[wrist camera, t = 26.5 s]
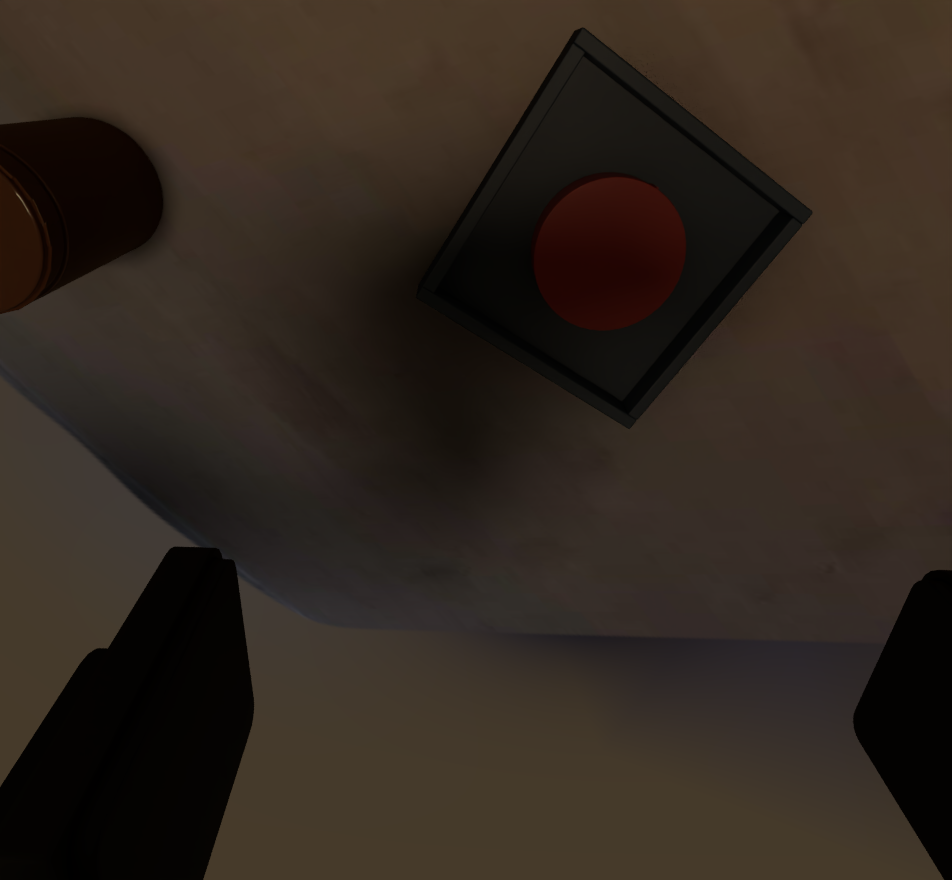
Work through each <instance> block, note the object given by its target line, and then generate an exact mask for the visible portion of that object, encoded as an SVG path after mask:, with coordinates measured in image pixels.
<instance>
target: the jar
mask: <svg viewBox="0 0 952 880" xmlns="http://www.w3.org/2000/svg"><path fill="white" fill-rule="evenodd" d="M162 206H163V199H162V190H161V186H160V182H159V179H158V176H157V174H156V171H155V169H154V167H153V165H152V164H151V162H150V160H149V159H148V157H147V156H146V154H145V153H144V152H143V150H142V149H141V148H140V147H139V146H138V145H137V144H136V143H135V142H134V141H133V140H132V139H131V138H130V137H128V136H127V135H126V134H125V133H123V132H122V131H120V130H119V129H117V128H115V127H113V126H112V125H110V124H107V123H105V122H102V121H100V120H96V119H92V118H85V117H71V118H61V119H50V120H40V121H30V122H20V123H10V124H0V314H2V313H6V312H10V311H15V310H19V309H21V308H23V307H24V306H26V305H28V304H29V303H31V302H33V301H35V300H37V299H39V298H41V297H43V296H45V295H47V294H49V293H51V292H53V291H55V290H57V289H59V288H61V287H62V286H64V285H66V284H68V283H70V282H72V281H74V280H76V279H78V278H80V277H82V276H84V275H86V274H88V273H90V272H92V271H93V270H95V269H97V268H99V267H101V266H103V265H105V264H107V263H109V262H111V261H113V260H115V259H117V258H119V257H121V256H123V255H124V254H126V253H128V252H130V251H132V250H134V249H136V248H138V247H140V246H141V245H143V244H144V243H145V242H147V241H148V240H149V239H150V238H151V236H152V235H153V234H154V232H155V231H156V229H157V227H158V225H159V222H160V219H161V214H162Z"/></svg>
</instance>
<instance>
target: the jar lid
mask: <svg viewBox="0 0 952 880" xmlns="http://www.w3.org/2000/svg"><path fill="white" fill-rule="evenodd" d="M658 189H659V187H657V186H655V185H654V184H652V183H650V184H648V183H647V182H645V181H643V180H641V179H639V178H637V177H634V176H631V175H628V174H624V173H617V172H603V173H597V174H592V175H589V176H585V177H583V178H581V179H578V180H576V181H574V182H572V183H571V184H569V185H568V186H566V187H565V188H563V189H562V190H561V191H560V192H558V193H557V194H556V195H555V196H554V197H553V198H552V199H551V200H550V202H549V203H548V204H547V206H546V207H545V208H544V210H543V212H542V213H541V215H540V217H539V219H538V221H537V224H536V226H535V229H534V233H533V236H532V242H531V264H532V269H533V273H534V276H535V279H536V282H537V285H538V287H539V290H540V292H541V294H542V296H543V298H544V299H545V301H546V302H547V304H548V305H549V306H550V308H551V309H552V310H553V311H554V312H555V313H556V314H558V315H559V316H560V317H562V318H563V319H564V320H566V321H568V322H570V323H571V324H574V325H576V326H579V327H582V328H586V329H590V330H614V329H620V328H624V327H627V326H630V325H632V324H635V323H637V322H639V321H641V320H643V319H644V318H646V317H647V316H649V315H650V314H652V313H653V312H654V311H655V310H657V309H658V308H659V307H660V306H661V305H662V304H663V303H664V302H665V300H666V299H667V298H668V297H669V295H670V294H671V293H672V291H673V290H674V288H675V286H676V284H677V282H678V280H679V278H680V275H681V273H682V270H683V266H684V262H685V255H686V237H685V230H684V227H683V223H682V220H681V218H680V216H679V213H678V212H677V210H676V208H675V207H674V205H673V204H672V203H671V201H670V200H669V199H668V198H667V197H666V196H665V195H664V194H663V193H662V192H661V191H659V190H658Z"/></svg>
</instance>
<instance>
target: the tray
mask: <svg viewBox="0 0 952 880" xmlns="http://www.w3.org/2000/svg"><path fill="white" fill-rule="evenodd" d="M603 172H617V173H624V174H628V175H631V176H634V177H637V178H639V179H641V180H643V181H645V182H647V183H648V184H650V183H652V184H654V185H655V186H657V187H659V189H658V190H659V191H661V192H662V193H663V194H664V195H665V196H666V197H667V198H668V199H669V200H670V201H671V203H672V204H673V205H674V207H675V208H676V210H677V212H678V213H679V216H680V218H681V220H682V223H683V227H684V230H685V237H686V255H685V262H684V266H683V270H682V273H681V275H680V278H679V280H678V282H677V284H676V286H675V288H674V290H673V291H672V293H671V294H670V295H669V297H668V298H667V299H666V300H665V302H664V303H663V304H662V305H661V306H660V307H659V308H658V309H657V310H655V311H654V312H653V313H652V314H650V315H649V316H647V317H646V318H644V319H643V320H641V321H639V322H637V323H635V324H632V325H630V326H627V327H624V328H620V329H614V330H590V329H586V328H582V327H579V326H576V325H574V324H571V323H570V322H568V321H566V320H564V319H563V318H562V317H560V316H559V315H558V314H556V313H555V312H554V311H553V310H552V309H551V308H550V306H549V305H548V304H547V302H546V301H545V299H544V298H543V296H542V294H541V292H540V290H539V287H538V285H537V282H536V279H535V276H534V273H533V269H532V264H531V242H532V236H533V233H534V229H535V226H536V224H537V221H538V219H539V217H540V215H541V213H542V212H543V210H544V208H545V207H546V206H547V204H548V203H549V202H550V200H551V199H552V198H553V197H554V196H555V195H556V194H557V193H558V192H560V191H561V190H562V189H563V188H565V187H566V186H568V185H569V184H571V183H572V182H574V181H576V180H578V179H581V178H583V177H585V176H589V175H592V174H597V173H603ZM812 213H813V212H812V211H811V210H810V209H809V208H807V207H806V206H805V205H804V204H802V203H801V202H800V201H799V200H797V199H796V198H795V197H794V196H792V195H791V194H790V193H789V192H788V191H786V190H785V189H784V188H783V187H781V186H780V185H779V184H778V183H776V182H775V181H774V180H773V179H771V178H770V177H769V176H768V175H766V174H765V173H764V172H763V171H761V170H760V169H759V168H758V167H756V166H755V165H754V164H753V163H751V162H750V161H749V160H748V159H747V158H745V157H744V156H743V155H742V154H740V153H739V152H738V151H737V150H735V149H734V148H733V147H732V146H730V145H729V144H728V143H727V142H725V141H724V140H723V139H722V138H720V137H719V136H718V135H717V134H715V133H714V132H713V131H712V130H711V129H709V128H708V127H707V126H706V125H704V124H703V123H702V122H701V121H699V120H698V119H697V118H696V117H694V116H693V115H692V114H691V113H689V112H688V111H687V110H686V109H684V108H683V107H682V106H681V105H679V104H678V103H677V102H676V101H674V100H673V99H672V98H671V97H670V96H668V95H667V94H666V93H665V92H663V91H662V90H661V89H660V88H658V87H657V86H656V85H655V84H653V83H652V82H651V81H650V80H648V79H647V78H646V77H645V76H643V75H642V74H641V73H640V72H638V71H637V70H636V69H635V68H633V67H632V66H631V65H630V64H629V63H627V62H626V61H625V60H624V59H622V58H621V57H620V56H619V55H617V54H616V53H615V52H614V51H612V50H611V49H610V48H609V47H607V46H606V45H605V44H604V43H602V42H601V41H600V40H599V39H597V38H596V37H595V36H594V35H592V34H591V33H590V32H589V31H588V30H586V29H585V28H580V29H578V30H576V31H574V33H573V35H572V36H571V38H570V39H569V41H568V43H567V44H566V46H565V48H564V49H563V51H562V52H561V54H560V56H559V57H558V59H557V61H556V62H555V64H554V65H553V67H552V69H551V70H550V72H549V73H548V75H547V77H546V78H545V80H544V82H543V83H542V85H541V86H540V88H539V90H538V91H537V93H536V95H535V96H534V98H533V99H532V101H531V103H530V104H529V106H528V108H527V109H526V111H525V112H524V114H523V116H522V117H521V119H520V121H519V122H518V124H517V125H516V127H515V129H514V130H513V132H512V134H511V135H510V137H509V138H508V140H507V142H506V143H505V145H504V147H503V148H502V150H501V151H500V153H499V155H498V156H497V158H496V160H495V161H494V163H493V164H492V166H491V168H490V169H489V171H488V173H487V174H486V176H485V177H484V179H483V181H482V182H481V184H480V186H479V187H478V189H477V190H476V192H475V194H474V195H473V197H472V199H471V200H470V202H469V203H468V205H467V207H466V208H465V210H464V212H463V213H462V215H461V216H460V218H459V220H458V221H457V223H456V225H455V226H454V228H453V229H452V231H451V233H450V234H449V236H448V238H447V239H446V241H445V242H444V244H443V246H442V247H441V249H440V251H439V252H438V254H437V255H436V257H435V259H434V260H433V262H432V264H431V265H430V267H429V268H428V270H427V272H426V273H425V275H424V277H423V278H422V280H421V281H420V283H419V285H418V289H417V294H416V298H417V299H419V300H421V301H422V302H424V303H426V304H427V305H429V306H430V307H432V308H434V309H435V310H437V311H439V312H440V313H442V314H443V315H445V316H447V317H448V318H450V319H452V320H453V321H455V322H456V323H458V324H460V325H461V326H463V327H464V328H466V329H468V330H469V331H471V332H473V333H474V334H476V335H477V336H479V337H481V338H482V339H484V340H486V341H487V342H489V343H490V344H492V345H494V346H495V347H497V348H498V349H500V350H502V351H503V352H505V353H507V354H508V355H510V356H511V357H513V358H515V359H516V360H518V361H520V362H521V363H523V364H524V365H526V366H528V367H529V368H531V369H533V370H534V371H536V372H537V373H539V374H541V375H542V376H544V377H545V378H547V379H549V380H550V381H552V382H554V383H555V384H557V385H558V386H560V387H562V388H563V389H565V390H567V391H568V392H570V393H571V394H573V395H575V396H576V397H578V398H579V399H581V400H583V401H584V402H586V403H588V404H589V405H591V406H592V407H594V408H596V409H597V410H599V411H601V412H602V413H604V414H605V415H607V416H609V417H610V418H612V419H614V420H615V421H617V422H618V423H620V424H622V425H623V426H625V427H626V428H628V429H630V428H631V427H632V426H633V424H634V423H635V422H636V419H638V418H639V417H640V416H641V415H642V414H643V413H644V411H645V410H646V409H647V408H648V407H649V406H650V404H651V403H652V402H653V401H654V400H655V398H656V397H657V396H658V395H659V394H660V393H661V391H662V390H663V389H664V388H665V387H666V385H667V384H668V383H669V382H670V381H671V380H672V378H673V377H674V376H675V375H676V374H677V373H678V371H679V370H680V369H681V368H682V367H683V365H684V364H685V363H686V362H687V361H688V360H689V358H690V357H691V356H692V355H693V354H694V353H695V351H696V350H697V349H698V348H699V347H700V345H701V344H702V343H703V342H704V341H705V340H706V338H707V337H708V336H709V335H710V334H711V332H712V331H713V330H714V329H715V328H716V327H717V325H718V324H719V323H720V322H721V321H722V320H723V318H724V317H725V316H726V315H727V314H728V312H729V311H730V310H731V309H732V308H733V307H734V305H735V304H736V303H737V302H738V301H739V299H740V298H741V297H742V296H743V295H744V294H745V292H746V291H747V290H748V289H749V288H750V287H751V285H752V284H753V283H754V282H755V281H756V279H757V278H758V277H759V276H760V275H761V274H762V272H763V271H764V270H765V269H766V268H767V267H768V265H769V264H770V263H771V262H772V261H773V259H774V258H775V257H776V256H777V255H778V254H779V252H780V251H781V250H782V249H783V248H784V246H785V245H786V244H787V243H788V242H789V241H790V239H791V238H792V237H793V236H794V235H795V234H796V232H797V231H798V230H799V229H800V228H801V226H802V224H804V223H805V222H806V221H807V219H808V218H809V217H810V216H811V215H812Z"/></svg>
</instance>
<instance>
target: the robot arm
mask: <svg viewBox="0 0 952 880" xmlns="http://www.w3.org/2000/svg"><path fill="white" fill-rule="evenodd" d="M253 714H254V697H253V691H252V683H251V675H250V668H249V660H248V653H247V646H246V638H245V630H244V623H243V615H242V608H241V600H240V593H239V585H238V578H237V570H236V565H235V562H234V561H233V560H231V559H223V558H222V554H221V552H220V550H219V549H217V548H203V547H173V548H171V549H170V550H169V551H168V552H167V553H166V555H165V557H164V558H163V560H162V562H161V563H160V565H159V566H158V568H157V570H156V572H155V573H154V575H153V576H152V578H151V579H150V581H149V583H148V584H147V586H146V588H145V589H144V591H143V593H142V594H141V596H140V597H139V599H138V601H137V602H136V604H135V605H134V607H133V609H132V610H131V612H130V614H129V615H128V617H127V619H126V620H125V622H124V623H123V625H122V627H121V628H120V630H119V632H118V633H117V635H116V636H115V638H114V640H113V641H112V643H111V645H110V646H109V648H108V649H106V648H105V649H104V648H102V649H101V648H98V649H95V650H93V651H92V652H90V653H89V654H88V655H87V656H86V657H85V658H84V660H83V661H82V662H81V663H80V665H79V666H78V668H77V669H76V671H75V672H74V674H73V675H72V677H71V678H70V680H69V682H68V683H67V685H66V686H65V688H64V689H63V691H62V693H61V694H60V695H59V697H58V699H57V700H56V702H55V703H54V705H53V706H52V708H51V709H50V711H49V712H48V714H47V716H46V717H45V719H44V720H43V722H42V723H41V725H40V726H39V728H38V729H37V731H36V732H35V734H34V736H33V737H32V739H31V740H30V742H29V743H28V745H27V746H26V748H25V750H24V751H23V753H22V754H21V756H20V757H19V759H18V760H17V762H16V763H15V765H14V766H13V768H12V770H11V771H10V773H9V774H8V776H7V777H6V779H5V780H4V782H3V783H2V785H1V787H0V880H203V878H204V875H205V872H206V869H207V866H208V862H209V859H210V856H211V853H212V850H213V847H214V844H215V840H216V837H217V834H218V831H219V828H220V825H221V822H222V818H223V815H224V812H225V809H226V806H227V803H228V799H229V796H230V793H231V790H232V787H233V784H234V780H235V777H236V774H237V771H238V768H239V765H240V761H241V758H242V755H243V752H244V749H245V746H246V743H247V739H248V736H249V733H250V730H251V726H252V721H253ZM853 723H854V730H855V733H856V736H857V738H858V740H859V742H860V743H861V745H862V747H863V748H864V750H865V752H866V753H867V755H868V756H869V758H870V760H871V761H872V763H873V765H874V766H875V768H876V769H877V771H878V773H879V774H880V776H881V778H882V779H883V781H884V782H885V784H886V786H887V787H888V789H889V791H890V792H891V794H892V795H893V797H894V798H895V800H896V802H897V804H898V805H899V807H900V808H901V810H902V812H903V813H904V815H905V817H906V818H907V820H908V821H909V823H910V825H911V826H912V828H913V829H914V831H915V833H916V834H917V836H918V838H919V839H920V841H921V843H922V844H923V846H924V847H925V849H926V851H927V852H928V854H929V856H930V857H931V859H932V860H933V862H934V864H935V865H936V867H937V869H938V870H939V872H940V873H941V875H942V877H943V878H944V880H952V570H935V571H930V572H929V573H927V574H926V575H925V576H924V577H923V579H922V580H921V581H918V582H916V583H915V584H914V585H913V587H912V588H911V591H910V593H909V595H908V597H907V599H906V601H905V604H904V606H903V608H902V610H901V612H900V614H899V617H898V619H897V621H896V623H895V625H894V627H893V630H892V632H891V634H890V636H889V638H888V640H887V642H886V645H885V647H884V649H883V651H882V653H881V655H880V658H879V660H878V662H877V664H876V667H875V668H874V671H873V673H872V675H871V677H870V679H869V681H868V684H867V686H866V688H865V690H864V692H863V695H862V697H861V699H860V701H859V703H858V705H857V707H856V710H855V713H854V718H853Z"/></svg>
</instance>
